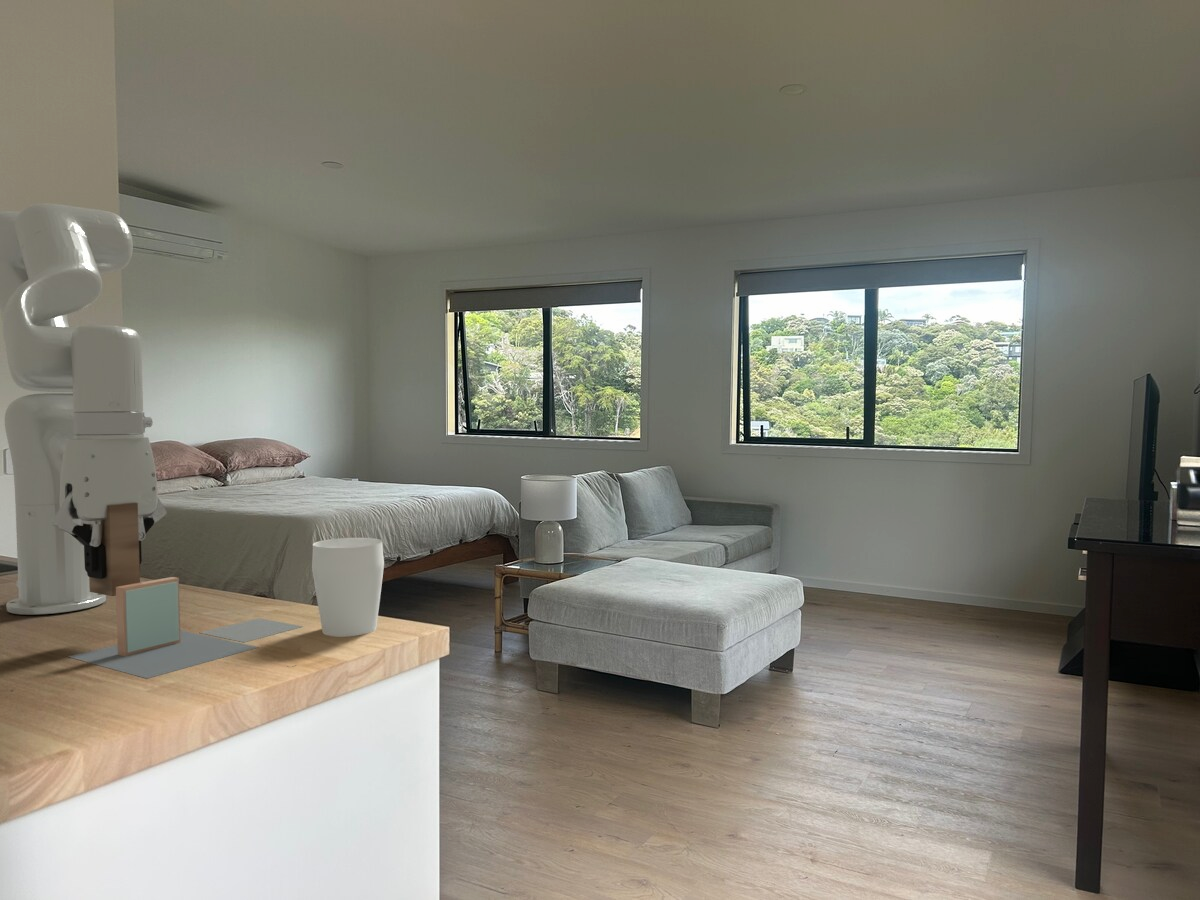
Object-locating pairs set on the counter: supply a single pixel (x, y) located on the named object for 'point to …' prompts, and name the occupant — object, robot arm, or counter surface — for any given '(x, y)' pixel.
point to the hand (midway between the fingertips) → (114, 573)
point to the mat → (165, 655)
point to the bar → (119, 549)
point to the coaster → (251, 630)
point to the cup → (348, 584)
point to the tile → (147, 615)
